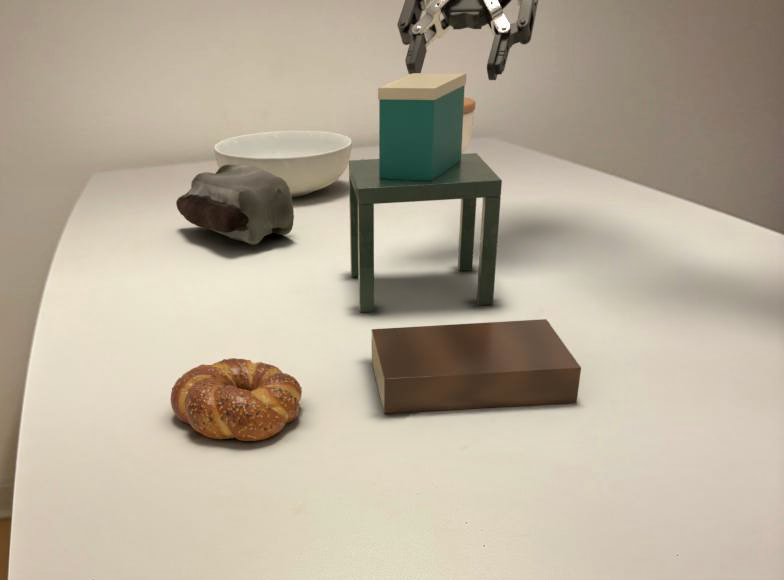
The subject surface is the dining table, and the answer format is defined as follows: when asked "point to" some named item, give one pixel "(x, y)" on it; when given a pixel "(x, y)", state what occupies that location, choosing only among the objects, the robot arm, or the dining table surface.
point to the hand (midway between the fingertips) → (451, 74)
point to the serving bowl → (290, 156)
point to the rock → (239, 203)
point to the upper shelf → (455, 183)
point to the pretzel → (236, 399)
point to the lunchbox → (420, 125)
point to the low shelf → (473, 366)
